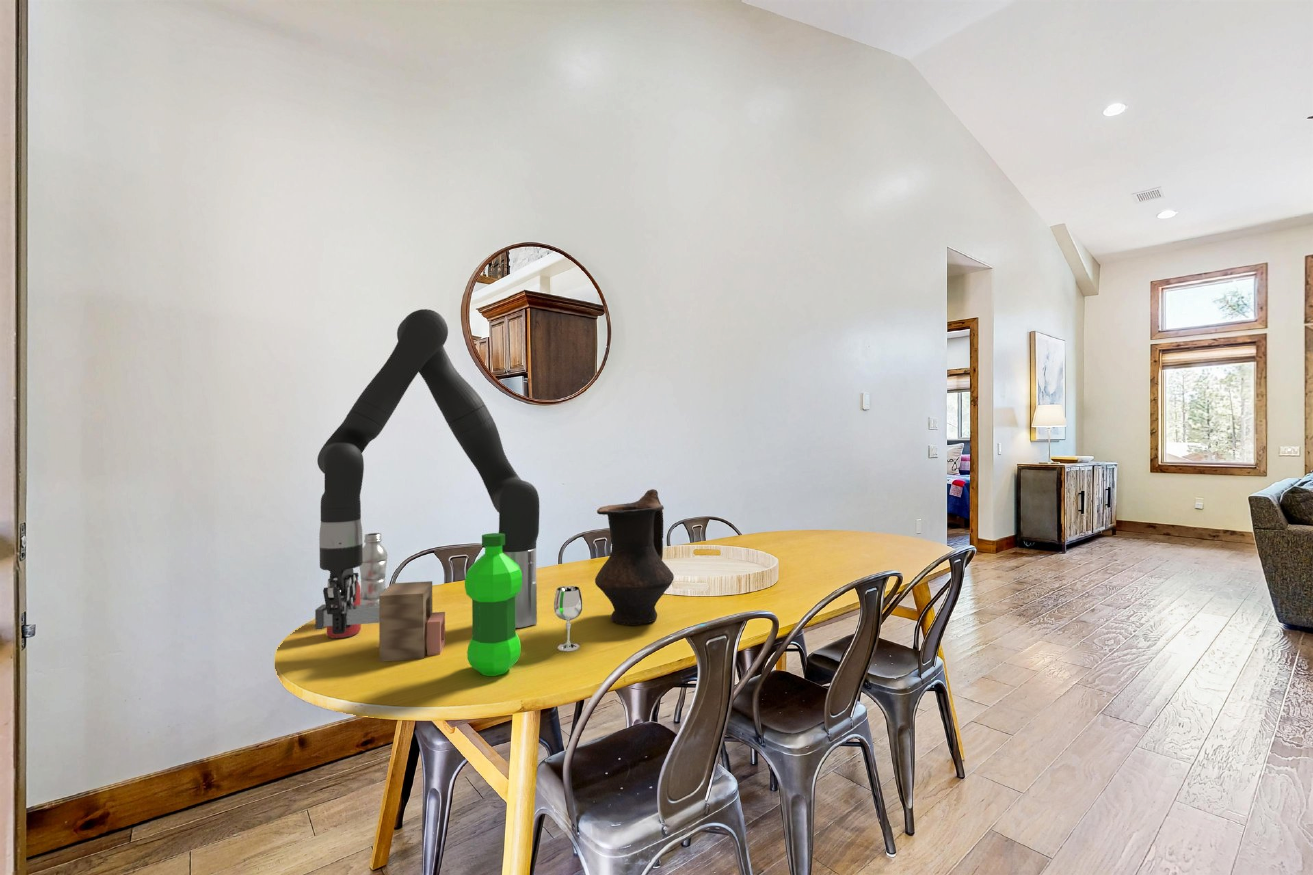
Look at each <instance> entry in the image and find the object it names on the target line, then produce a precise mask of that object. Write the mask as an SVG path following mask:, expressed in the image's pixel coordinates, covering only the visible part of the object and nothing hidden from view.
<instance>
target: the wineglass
mask: <svg viewBox="0 0 1313 875" xmlns="http://www.w3.org/2000/svg"><path fill="white" fill-rule="evenodd" d="M555 590H556V591H555V593H554V601H553V610H554V614H555V616H556V617H557V618H558V619H560V620H562V621H566V623H565V628H566V631H567V632H566V633H567V636H566V638H567V639H566V642H565V643H561V644H559V645H558V646H557V650H558V651H560V652H574V651H576V650H578V649H579V648H580V645H579V644H578V643H572V642H571V640H570V631H571V626H572V624H571V621H573V620H575V619H577V618H578V617H579V616H580V615H581V614H582V611H583V597H582V592H581V588H580V587H579V586H575V585H563V586H560V587H557V588H556V589H555Z"/></svg>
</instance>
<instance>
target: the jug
mask: <svg viewBox="0 0 1313 875" xmlns="http://www.w3.org/2000/svg"><path fill="white" fill-rule="evenodd" d="M663 510H665V507H664V505H662V504H661V501H660V499H659V492H658V491H657V489H654V488H653V489H648V490H647V491H646V492H645V493H644V495H642V497H641V498H639V500H638V501H634V502H628V503H622V504H610V505H605V506H601V507H599V508H598V509H597V510H596V513H597V515H603V516H607V521H608V526H609V532H610V543H611V552H610V554H609V557H608V559H607V560H606V561H605V562H604V564H603V565H602V567H601V568H600V570H599V571H598V573H597V575H596V576H595V578H594V582H595V586H596V587H597V588H598V589H600V590H601V592H602V593H603V594H604V595H605V596H606V597H607V599H608V600H609V602H610V604H611V605H612V606H613V611H612V613H611V615H610V619H611V620H610V621H611V622H612V623H615V624H618V625H631V626H634V625H643V624H648V623H652V622H655V621H657V618H658V613H657V611H656V605H657V603H658V601H659V600H660V599H661V598H662V596H663V595H664V593H665V592H666V590H669V588H670V586H671V585H672V583H673V581H674V579H675V576H674V574H673V572H672V571H671V569H670V568H669V567H668V566H667V564H666V563H665V562H664V561H663V556H664V540H663V539H664V511H663Z"/></svg>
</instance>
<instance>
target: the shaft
mask: <svg viewBox="0 0 1313 875" xmlns="http://www.w3.org/2000/svg"><path fill="white" fill-rule="evenodd" d="M335 607H337V606H335ZM314 612H315V616H314V620H315V622H314V623H315V629H314V630H323V629H324V628H325V627H327V626H332V615H331V614H327V609H326V604H321V605H320V606H318V607H317V608H315V611H314ZM354 624H361V625H365V624H366V625H367V624H368V625H369V624H379V604H366V605H349V606H346V625H354Z"/></svg>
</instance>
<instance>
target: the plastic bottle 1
mask: <svg viewBox="0 0 1313 875" xmlns="http://www.w3.org/2000/svg"><path fill="white" fill-rule="evenodd" d="M382 539H383V538H382V533H381V532H380V533H379V532H370V533H366V534H364V540H363V543H365V544H364V546H363V563H362V565H361V566H359V572H360V574H359V575H360V605H366V604H379V596H380V595H381V594H382V593H383V592H384V591H385V590H386V589H387V588H386V570H387V563H388V552H387V550H386V549H385V547H384V546H383V545H382V543H381V542H382V541H383V540H382Z"/></svg>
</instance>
